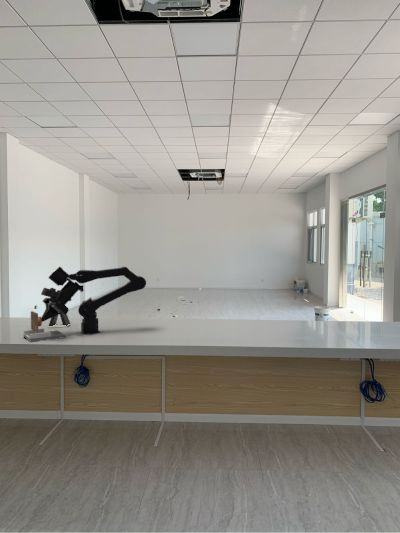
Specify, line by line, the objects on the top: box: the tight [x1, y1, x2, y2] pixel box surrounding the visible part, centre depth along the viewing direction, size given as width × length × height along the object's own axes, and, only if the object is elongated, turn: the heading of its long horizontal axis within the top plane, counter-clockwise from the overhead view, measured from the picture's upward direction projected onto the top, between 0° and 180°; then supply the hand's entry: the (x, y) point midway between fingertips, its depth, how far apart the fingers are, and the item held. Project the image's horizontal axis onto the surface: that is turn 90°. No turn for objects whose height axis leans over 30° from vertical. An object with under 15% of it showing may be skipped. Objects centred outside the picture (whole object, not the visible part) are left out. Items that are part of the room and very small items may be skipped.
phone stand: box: [48, 311, 71, 326], centre depth 192 cm, size 9×6×12 cm, turn 92°
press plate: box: [30, 310, 43, 332], centre depth 165 cm, size 3×8×8 cm, turn 37°
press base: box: [23, 328, 66, 343], centre depth 167 cm, size 14×11×3 cm
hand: (41, 321), depth 167 cm, fingers closed, pressing on press plate
